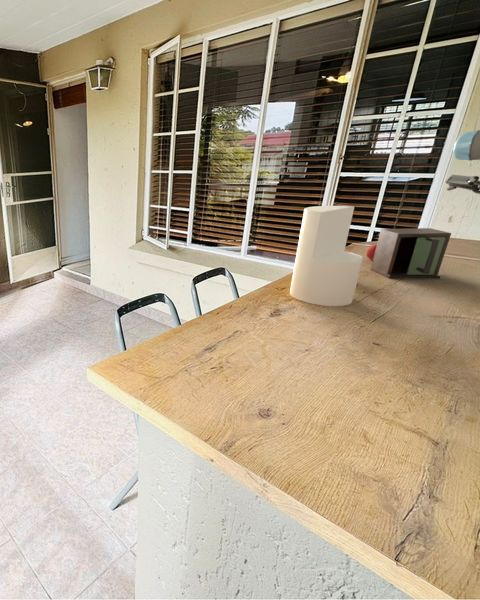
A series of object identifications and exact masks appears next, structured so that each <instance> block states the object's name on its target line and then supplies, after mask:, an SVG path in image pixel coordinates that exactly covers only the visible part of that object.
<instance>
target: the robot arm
mask: <svg viewBox="0 0 480 600" xmlns="http://www.w3.org/2000/svg"><path fill="white" fill-rule="evenodd" d="M452 155H453V157H454V158H455V159H456V160H459V161H469V162H470V161H480V129H477V130H475V131H473V130H472V131H467V132H465V133H463V134H462V135H460V136H459V137H458V138H457V140H456V141H455V142H454V145H453V149H452ZM444 183H445V184H448V187H447V188H446V191H453V190H456V189H458V188H459V189H464V190H469V191H472V192H473V193H474V194H478V195H480V176H479V175H472V176H471V175H461V174H459V175H458V174H451V175H450V176H449V177H448V178H447V179H446V181H444Z"/></svg>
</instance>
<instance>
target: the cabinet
mask: <svg viewBox="0 0 480 600" xmlns="http://www.w3.org/2000/svg"><path fill="white" fill-rule="evenodd" d="M451 236H452V232H448V231H444V230H439V229H434V228H432V227H423V228H422V227H421V228H418V227H417V228H381V229H380V231H379V235H378V240H377V243H376V244H377V247H376V251H375V255H374V258H373V261H371V262H372V263H371V267H370V270H371V271H373V272H375V273H377V274H379V275H381V276H384V277H385V278H387V279H433V280H434V279H435V280H436V279H438V280H439V279H441V277H442V275H440V274H439V272H440V269H441V266H442V263H443V261H444V260H443V259H444V257H445V253H446V251H447V248H448V245H449V242H450V238H451ZM420 237H445V241H444V244H443V247H442V250H441V254H440V257H439V260H438V263H437V266H436V269H435V272H434V275H408V274H407V271H408V268H409V265H410V261H411V258H412V255H413V251H414V248H415V245H416V241H417V238H420Z"/></svg>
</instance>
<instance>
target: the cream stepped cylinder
mask: <svg viewBox="0 0 480 600" xmlns="http://www.w3.org/2000/svg"><path fill="white" fill-rule="evenodd" d="M354 211H355V206H353V205H352V206H351V205H317V206H316V205H315V206H308V207H305V208H304V209H303V216H302V220H301V227H300V231H299V239H298V244H297V249H296V255H295V260H294V266H293V271H292V276H291V277H292V278H291V283H290V289H289V295H290V296H291V297H292V298H293V299H295V300H298V301H300V302H304V303H307V304H311V305H318V306H324V307H341V306H342V307H344V306H348V305H351V304H352V303H353V301H354V297H355V292H356V288H357V285H358V281H359V277H360V272H361V269H362V264H363V262H364V261H363V260H364V257H363V256H362V255H360V254H358V253H356V252H350V251H346V250H345V249H346V246H347V241H348V237H349V233H350V228H351V224H352V220H353V215H354Z"/></svg>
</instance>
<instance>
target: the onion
mask: <svg viewBox="0 0 480 600" xmlns="http://www.w3.org/2000/svg"><path fill="white" fill-rule="evenodd" d="M376 247H377V243H375V244H373V245H371V246H369V247H368V248H367V249H366V251H365V255H366V258H367V259H369V260H370V261H371V262H373V258H374V255H375V251H376Z"/></svg>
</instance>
